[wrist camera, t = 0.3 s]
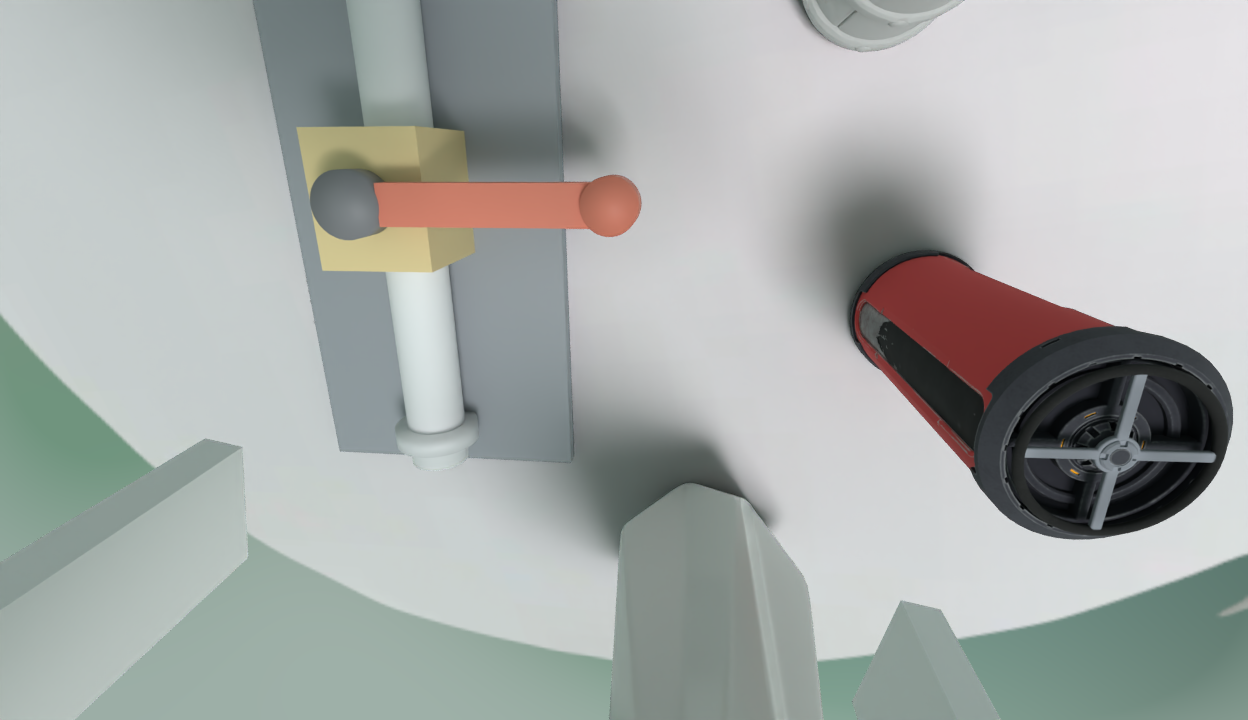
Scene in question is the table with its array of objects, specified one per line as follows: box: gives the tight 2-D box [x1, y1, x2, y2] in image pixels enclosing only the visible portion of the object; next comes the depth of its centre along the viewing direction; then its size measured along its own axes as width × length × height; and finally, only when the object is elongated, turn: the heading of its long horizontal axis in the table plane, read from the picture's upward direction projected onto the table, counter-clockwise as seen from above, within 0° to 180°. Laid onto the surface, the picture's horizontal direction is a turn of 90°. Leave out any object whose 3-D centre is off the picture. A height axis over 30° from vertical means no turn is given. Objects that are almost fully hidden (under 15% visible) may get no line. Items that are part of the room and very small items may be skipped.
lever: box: [310, 169, 641, 240], centre depth 27 cm, size 15×3×2 cm, turn 90°
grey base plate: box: [253, 0, 574, 471], centre depth 32 cm, size 36×17×8 cm, turn 0°
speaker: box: [850, 250, 1233, 539], centre depth 27 cm, size 8×8×18 cm
